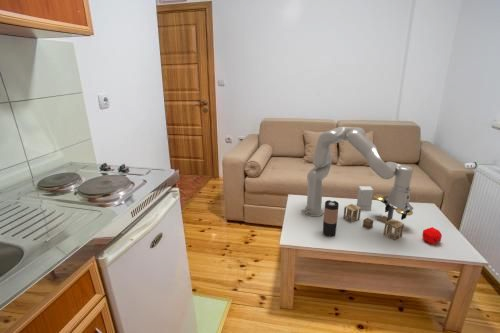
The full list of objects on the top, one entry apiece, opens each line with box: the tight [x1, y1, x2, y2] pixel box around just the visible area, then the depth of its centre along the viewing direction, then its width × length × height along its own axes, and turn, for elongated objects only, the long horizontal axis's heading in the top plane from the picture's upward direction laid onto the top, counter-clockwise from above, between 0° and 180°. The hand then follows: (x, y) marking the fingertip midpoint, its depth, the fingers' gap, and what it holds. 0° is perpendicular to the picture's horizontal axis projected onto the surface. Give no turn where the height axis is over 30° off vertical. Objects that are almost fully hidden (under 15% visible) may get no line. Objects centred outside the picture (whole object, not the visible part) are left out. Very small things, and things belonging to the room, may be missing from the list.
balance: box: [372, 193, 414, 229], centre depth 177 cm, size 9×25×15 cm, turn 33°
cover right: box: [383, 218, 405, 241], centre depth 164 cm, size 7×7×8 cm
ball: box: [421, 226, 443, 245], centre depth 158 cm, size 8×8×8 cm
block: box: [362, 217, 374, 230], centre depth 173 cm, size 4×4×5 cm
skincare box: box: [356, 185, 374, 211], centre depth 195 cm, size 8×7×16 cm
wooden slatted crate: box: [343, 203, 362, 223], centre depth 182 cm, size 7×7×8 cm
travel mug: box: [322, 200, 339, 238], centre depth 164 cm, size 8×8×20 cm
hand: (394, 215), depth 161 cm, fingers open, 9 cm apart
